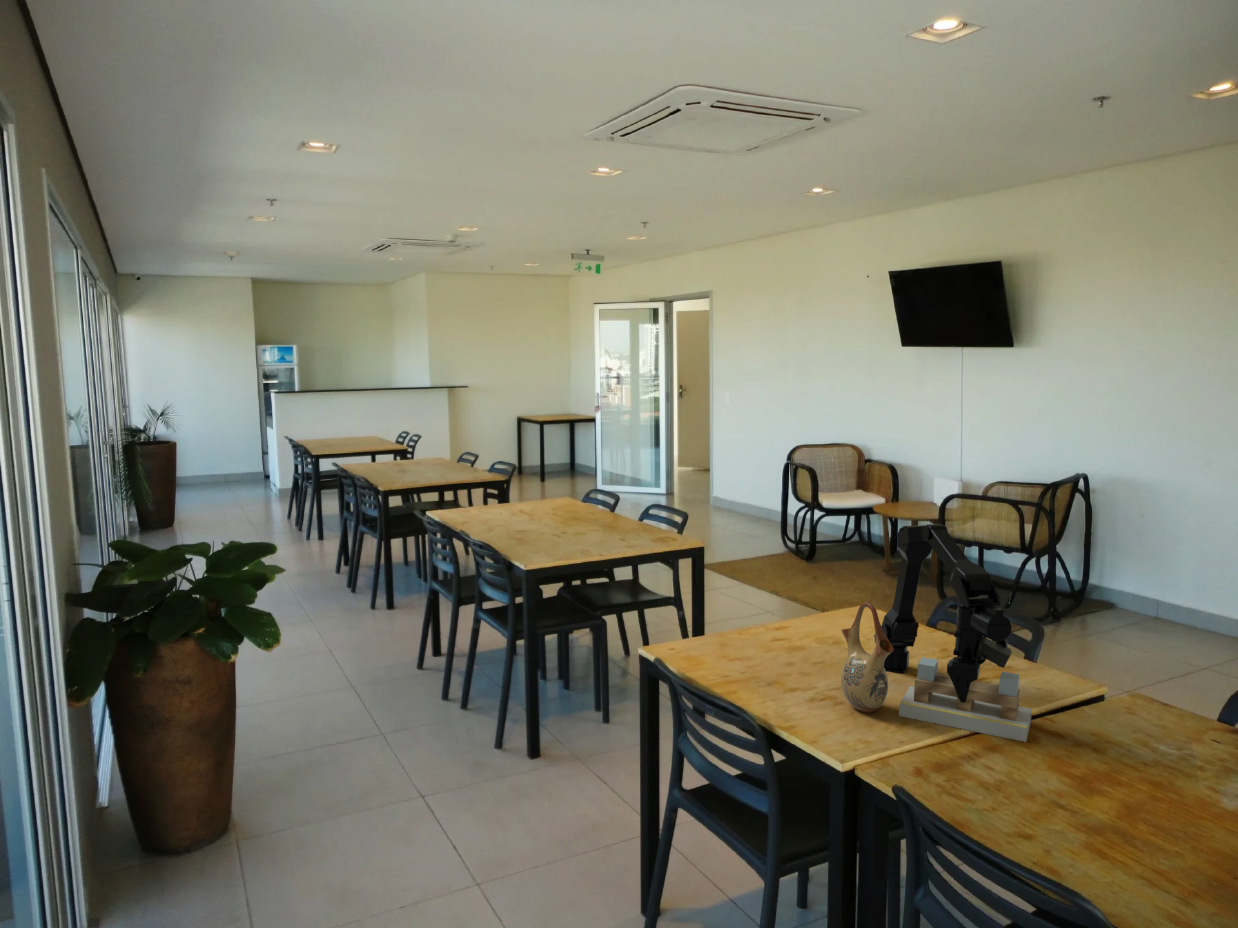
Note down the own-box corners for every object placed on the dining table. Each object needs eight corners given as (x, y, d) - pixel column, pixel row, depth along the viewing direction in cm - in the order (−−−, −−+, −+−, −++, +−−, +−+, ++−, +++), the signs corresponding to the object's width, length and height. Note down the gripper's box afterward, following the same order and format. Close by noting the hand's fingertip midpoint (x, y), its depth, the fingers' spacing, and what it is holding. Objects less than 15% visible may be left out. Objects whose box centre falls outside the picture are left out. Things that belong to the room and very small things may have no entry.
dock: (899, 715, 196) (899, 702, 195) (909, 698, 206) (910, 685, 206) (1026, 741, 183) (1027, 727, 182) (1030, 721, 193) (1031, 708, 193)
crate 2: (998, 693, 188) (999, 678, 188) (1001, 686, 192) (1002, 671, 192) (1016, 697, 186) (1017, 681, 186) (1018, 689, 191) (1019, 674, 190)
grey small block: (917, 678, 196) (918, 663, 196) (921, 671, 201) (922, 657, 200) (933, 681, 195) (934, 666, 194) (937, 674, 199) (938, 659, 199)
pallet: (913, 701, 196) (914, 679, 196) (919, 691, 202) (920, 670, 201) (1015, 720, 186) (1016, 698, 186) (1018, 710, 192) (1019, 688, 191)
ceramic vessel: (825, 698, 205) (829, 594, 202) (856, 693, 209) (861, 591, 206) (870, 725, 190) (875, 614, 187) (903, 719, 194) (909, 610, 191)
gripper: (1005, 645, 180) (1000, 717, 182) (1014, 622, 196) (1009, 688, 198) (948, 636, 185) (944, 706, 187) (961, 614, 201) (957, 679, 203)
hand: (965, 695), depth 194 cm, fingers open, 9 cm apart
